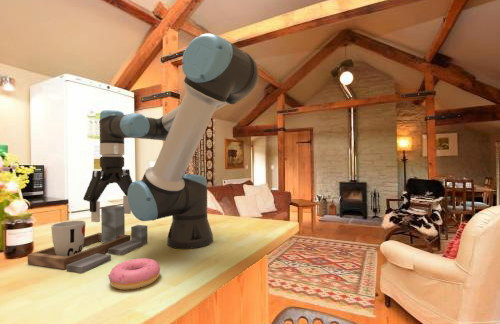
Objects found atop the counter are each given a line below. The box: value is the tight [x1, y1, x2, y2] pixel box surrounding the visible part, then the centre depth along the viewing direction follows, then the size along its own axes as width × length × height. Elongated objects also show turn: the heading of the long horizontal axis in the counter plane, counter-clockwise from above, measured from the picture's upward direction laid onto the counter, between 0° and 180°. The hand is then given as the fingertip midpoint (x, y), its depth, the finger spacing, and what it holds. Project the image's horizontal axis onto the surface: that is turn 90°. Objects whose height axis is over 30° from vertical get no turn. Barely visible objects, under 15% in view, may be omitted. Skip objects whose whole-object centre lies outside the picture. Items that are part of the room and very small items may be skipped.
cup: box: [51, 220, 86, 257], centre depth 76 cm, size 8×8×10 cm
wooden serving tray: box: [27, 205, 131, 270], centre depth 81 cm, size 13×25×12 cm, turn 163°
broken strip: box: [66, 224, 149, 274], centre depth 78 cm, size 5×25×6 cm, turn 162°
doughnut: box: [107, 257, 161, 291], centre depth 61 cm, size 11×11×4 cm
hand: (112, 217), depth 92 cm, fingers open, 13 cm apart
